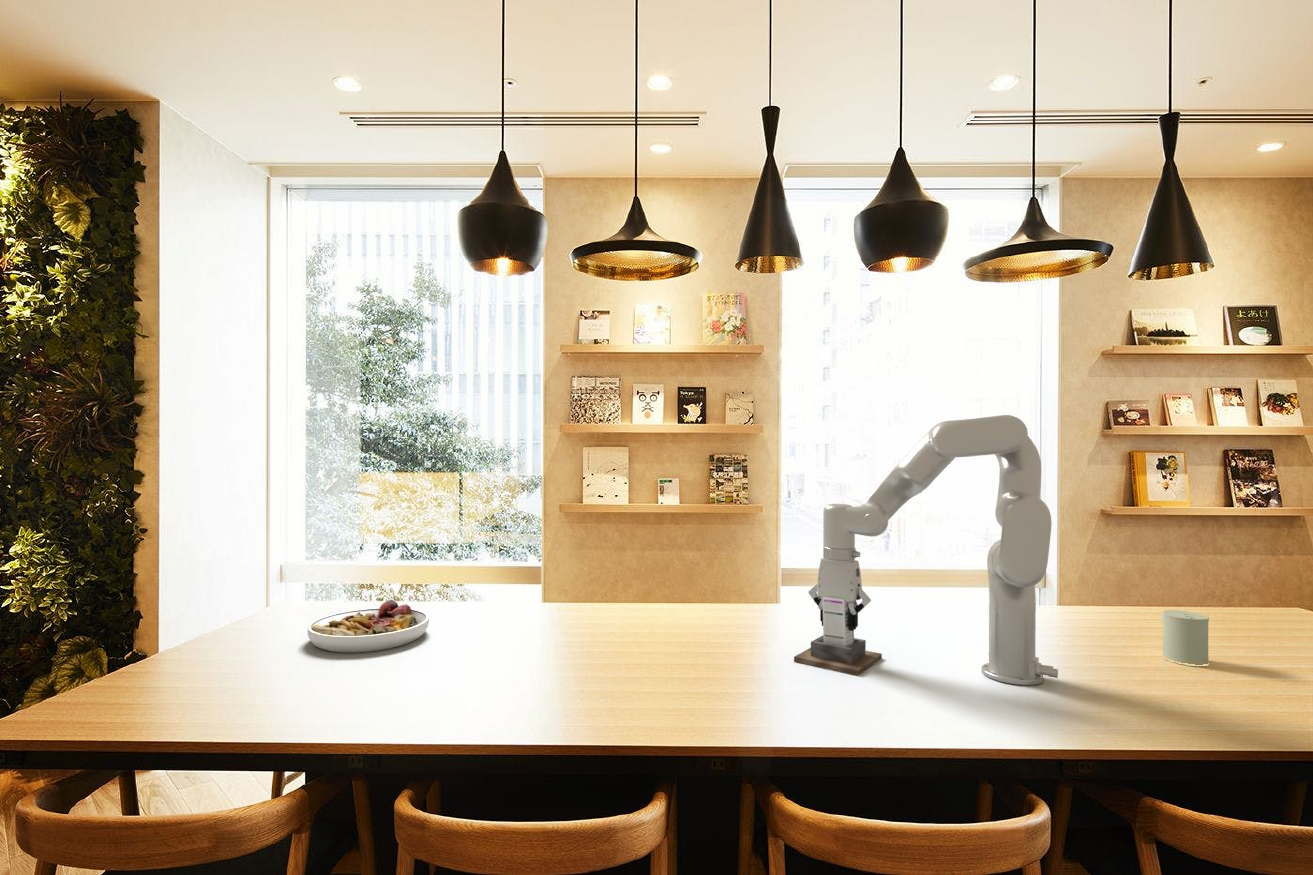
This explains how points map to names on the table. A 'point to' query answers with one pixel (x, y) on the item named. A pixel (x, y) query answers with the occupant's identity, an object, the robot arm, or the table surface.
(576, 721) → the table surface
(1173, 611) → the can
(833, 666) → the holder
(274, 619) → the table surface
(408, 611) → the bowl
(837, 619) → the syrup box
